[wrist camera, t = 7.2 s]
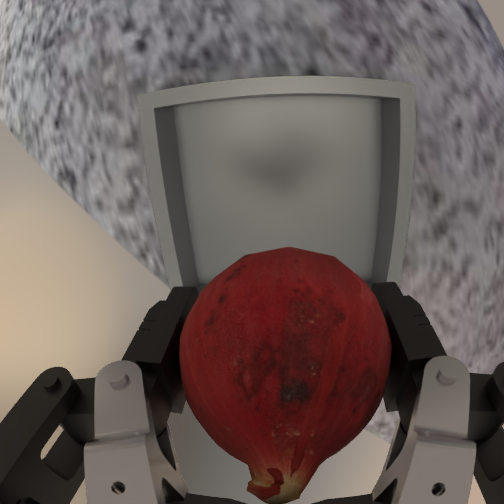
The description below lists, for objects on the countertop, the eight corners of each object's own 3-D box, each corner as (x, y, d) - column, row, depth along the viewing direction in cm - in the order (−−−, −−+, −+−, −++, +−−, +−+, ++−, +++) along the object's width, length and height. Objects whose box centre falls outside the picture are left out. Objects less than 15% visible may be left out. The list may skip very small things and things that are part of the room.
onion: (217, 195, 10) (100, 398, 3) (380, 227, 10) (495, 424, 3) (203, 326, 13) (151, 503, 6) (333, 347, 13) (353, 521, 6)
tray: (389, 87, 17) (414, 83, 13) (377, 283, 24) (391, 316, 20) (163, 96, 19) (136, 95, 15) (192, 287, 26) (178, 320, 22)
